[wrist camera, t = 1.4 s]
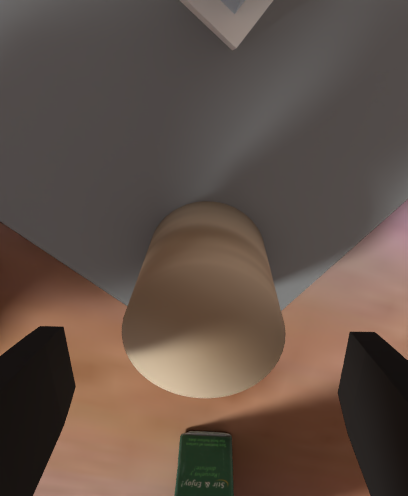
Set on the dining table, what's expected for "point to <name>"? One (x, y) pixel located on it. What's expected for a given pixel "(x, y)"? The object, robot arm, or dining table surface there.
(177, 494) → the coffee box
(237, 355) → the beech cylinder
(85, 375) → the dining table surface
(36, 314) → the dining table surface
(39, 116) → the slate mat
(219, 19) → the base block
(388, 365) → the robot arm
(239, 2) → the top block
